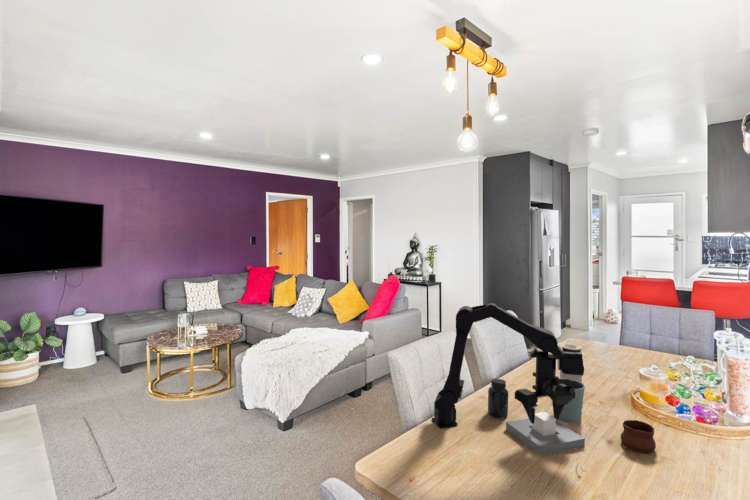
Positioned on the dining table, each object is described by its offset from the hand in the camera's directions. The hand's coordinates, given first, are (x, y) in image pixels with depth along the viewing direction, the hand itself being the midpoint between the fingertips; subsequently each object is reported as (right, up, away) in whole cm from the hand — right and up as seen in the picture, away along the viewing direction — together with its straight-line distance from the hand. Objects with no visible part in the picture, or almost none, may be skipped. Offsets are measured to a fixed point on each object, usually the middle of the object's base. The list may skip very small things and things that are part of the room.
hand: (544, 420), depth 123 cm
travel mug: (+27, -4, +39) cm, 47 cm away
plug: (0, -5, 0) cm, 5 cm away
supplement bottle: (-9, -5, +16) cm, 19 cm away
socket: (0, -5, 0) cm, 5 cm away
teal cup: (+14, -5, +14) cm, 21 cm away
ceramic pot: (+26, -6, -4) cm, 27 cm away
